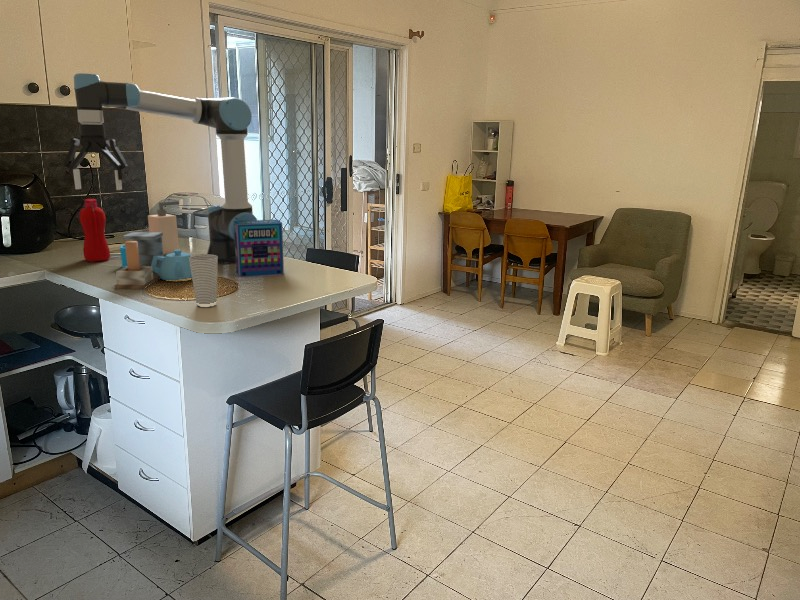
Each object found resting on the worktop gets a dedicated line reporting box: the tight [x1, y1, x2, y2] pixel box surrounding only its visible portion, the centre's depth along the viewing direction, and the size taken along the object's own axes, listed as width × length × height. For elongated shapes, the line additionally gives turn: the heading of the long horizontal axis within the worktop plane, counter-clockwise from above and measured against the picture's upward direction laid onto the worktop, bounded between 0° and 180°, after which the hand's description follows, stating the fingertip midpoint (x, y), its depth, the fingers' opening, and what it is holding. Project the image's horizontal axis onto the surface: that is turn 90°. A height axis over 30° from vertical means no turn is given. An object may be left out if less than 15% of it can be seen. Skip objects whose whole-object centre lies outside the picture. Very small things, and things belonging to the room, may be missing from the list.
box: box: [234, 219, 285, 278], centre depth 226 cm, size 17×9×20 cm, turn 111°
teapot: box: [151, 249, 192, 281], centre depth 218 cm, size 15×15×11 cm
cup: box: [189, 253, 219, 304], centre depth 184 cm, size 8×8×16 cm
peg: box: [124, 240, 140, 271], centre depth 206 cm, size 4×4×14 cm
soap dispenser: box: [147, 200, 180, 255], centre depth 263 cm, size 13×9×22 cm
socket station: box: [114, 231, 164, 290], centre depth 211 cm, size 11×20×16 cm, turn 1°
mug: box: [119, 244, 127, 269], centre depth 236 cm, size 12×8×8 cm
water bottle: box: [78, 198, 111, 263], centre depth 242 cm, size 9×11×25 cm
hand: (99, 189), depth 201 cm, fingers open, 13 cm apart
